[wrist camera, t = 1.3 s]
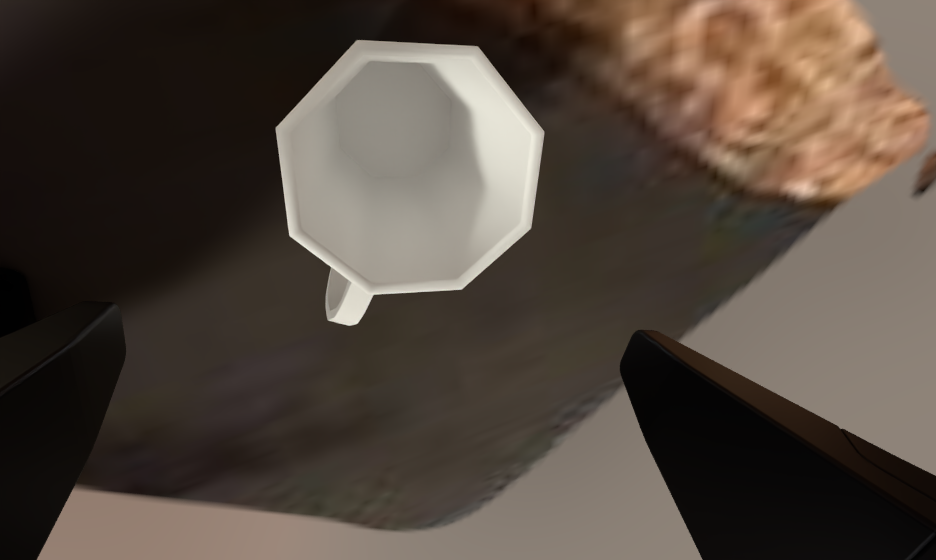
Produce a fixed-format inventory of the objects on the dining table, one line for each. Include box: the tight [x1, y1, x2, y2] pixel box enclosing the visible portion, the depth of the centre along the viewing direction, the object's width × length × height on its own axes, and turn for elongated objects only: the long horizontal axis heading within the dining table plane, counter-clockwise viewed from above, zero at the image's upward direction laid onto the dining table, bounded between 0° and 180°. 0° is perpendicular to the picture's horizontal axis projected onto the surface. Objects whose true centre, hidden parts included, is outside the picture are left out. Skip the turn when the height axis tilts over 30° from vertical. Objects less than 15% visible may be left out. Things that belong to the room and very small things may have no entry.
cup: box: [276, 40, 544, 326], centre depth 16 cm, size 7×10×8 cm
